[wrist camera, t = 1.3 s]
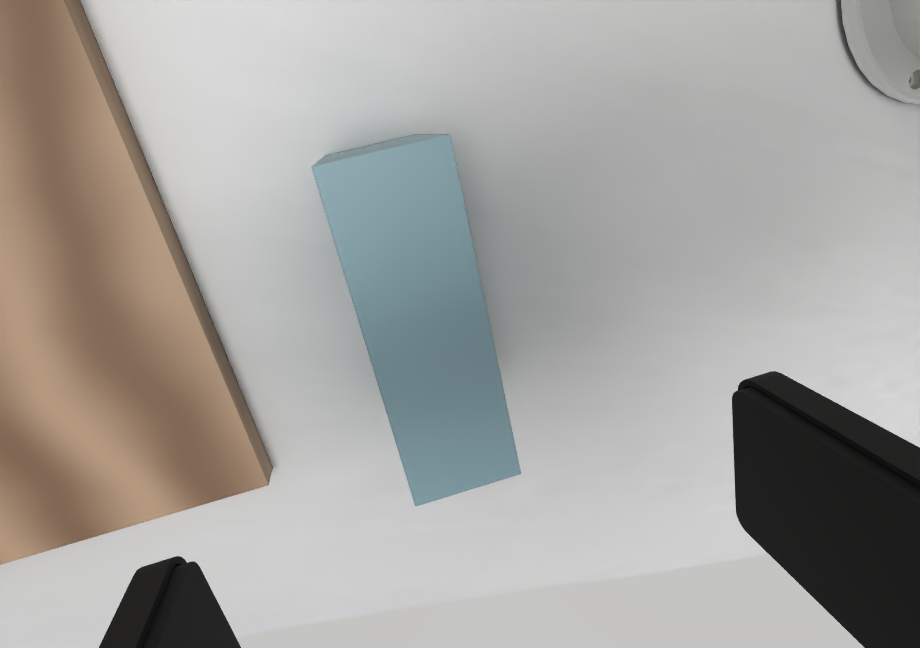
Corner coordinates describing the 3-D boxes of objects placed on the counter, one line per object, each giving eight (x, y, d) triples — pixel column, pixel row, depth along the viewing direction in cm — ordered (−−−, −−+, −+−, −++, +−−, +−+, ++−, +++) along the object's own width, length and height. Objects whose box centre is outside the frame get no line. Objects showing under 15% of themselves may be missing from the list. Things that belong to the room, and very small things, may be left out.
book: (415, 134, 24) (449, 134, 15) (470, 373, 28) (521, 473, 20) (325, 155, 23) (311, 166, 15) (395, 394, 28) (415, 506, 19)
